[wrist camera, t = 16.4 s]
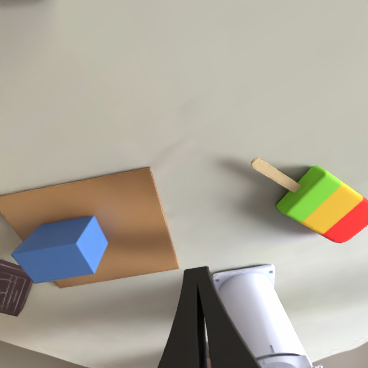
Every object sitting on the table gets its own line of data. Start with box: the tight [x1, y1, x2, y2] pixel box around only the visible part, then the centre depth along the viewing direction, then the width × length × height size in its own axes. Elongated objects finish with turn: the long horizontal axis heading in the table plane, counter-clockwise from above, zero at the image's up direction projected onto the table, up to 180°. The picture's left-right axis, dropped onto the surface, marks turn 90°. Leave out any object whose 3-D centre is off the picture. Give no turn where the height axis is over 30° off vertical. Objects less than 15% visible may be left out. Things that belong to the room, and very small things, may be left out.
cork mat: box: [0, 167, 179, 288], centre depth 21 cm, size 14×16×1 cm
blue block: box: [11, 216, 108, 283], centre depth 19 cm, size 4×4×6 cm
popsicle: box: [251, 158, 368, 243], centre depth 19 cm, size 6×15×2 cm, turn 59°
